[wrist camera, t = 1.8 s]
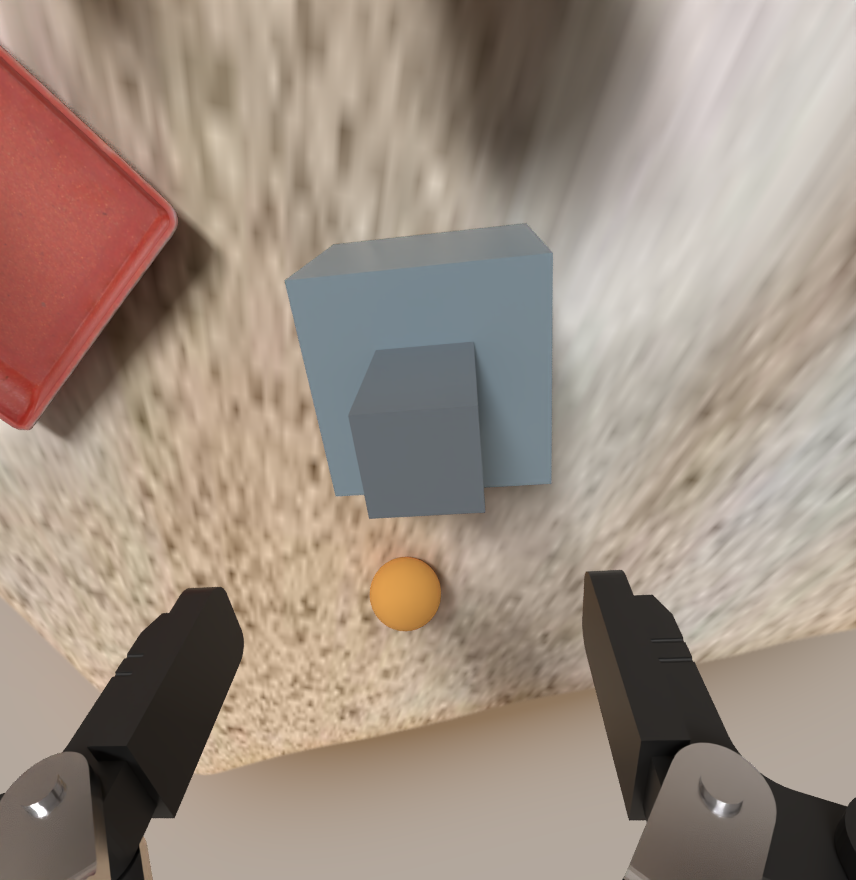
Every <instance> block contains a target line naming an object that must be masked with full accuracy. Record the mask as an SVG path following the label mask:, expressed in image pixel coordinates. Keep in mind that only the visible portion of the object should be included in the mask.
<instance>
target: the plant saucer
mask: <svg viewBox="0 0 856 880" xmlns="http://www.w3.org/2000/svg"><path fill="white" fill-rule="evenodd" d="M177 226H178V216H177V214H176V211H175V210H174V208H173V207H172V206H171V205H170V203H169V202H168V201H167V200H166V199H165V198H164V197H162V196H161V195H160V194H159V193H158V192H157V191H156V190H155V189H154V188H153V187H152V186H151V185H150V184H149V183H148V182H146V181H145V180H144V179H143V178H142V177H141V176H140V175H139V174H138V173H137V172H136V171H135V170H134V169H133V168H132V167H130V166H129V165H128V164H127V163H126V162H125V161H124V160H123V159H122V158H121V157H120V156H119V155H118V154H117V153H116V152H115V151H114V150H112V149H111V148H110V147H109V146H108V145H107V144H106V143H105V142H104V141H103V140H102V139H101V138H100V137H99V136H98V135H97V134H95V133H94V132H93V131H92V130H91V129H90V128H89V127H88V126H87V125H86V124H85V123H84V122H83V121H82V120H80V119H79V118H78V117H77V116H76V115H75V114H74V113H73V112H72V111H71V110H70V109H69V108H68V107H66V106H65V105H64V104H63V103H62V102H61V101H60V100H59V99H58V98H57V97H56V96H55V95H53V94H52V93H51V92H50V91H49V90H48V89H47V88H46V87H45V86H44V85H43V84H42V83H41V82H39V81H38V80H37V79H36V78H35V77H34V76H33V75H32V74H31V73H30V72H29V71H27V70H26V69H25V68H24V67H23V66H22V65H21V64H20V63H19V62H18V61H17V60H15V59H14V58H13V57H12V56H11V55H10V54H9V53H8V52H7V51H6V50H5V49H4V48H2V47H1V46H0V419H2V420H3V421H4V422H6V423H7V424H9V425H10V426H12V427H14V428H16V429H18V430H30V429H32V428H33V426H34V425H35V424H36V422H37V421H38V419H39V418H40V417H41V415H42V414H43V413H44V411H45V410H46V408H47V407H48V406H49V404H50V403H51V401H52V400H53V399H54V397H55V396H56V394H57V393H58V392H59V390H60V389H61V388H62V386H63V385H64V383H65V382H66V381H67V379H68V378H69V377H70V375H71V374H72V373H73V371H74V370H75V368H76V367H77V365H78V364H79V363H80V361H81V360H82V359H83V357H84V356H85V354H86V353H87V352H88V350H89V349H90V348H91V346H92V345H93V343H94V342H95V340H96V339H97V338H98V337H99V335H100V334H101V332H102V331H103V329H104V328H105V327H106V325H107V324H108V323H109V321H110V320H111V318H112V317H113V316H114V314H115V313H116V311H117V310H118V309H119V308H120V306H121V305H122V303H123V302H124V301H125V299H126V298H127V296H128V295H129V294H130V292H131V291H132V290H133V288H134V287H135V286H136V284H137V283H138V281H139V280H140V279H141V277H142V276H143V275H144V273H145V272H146V271H147V269H148V268H149V267H150V265H151V264H152V263H153V261H154V260H155V258H156V257H157V256H158V254H159V253H160V252H161V250H162V249H163V247H164V246H165V245H166V243H167V242H168V241H169V240H170V238H171V237H172V236H173V234H174V233H175V231H176V229H177Z"/></svg>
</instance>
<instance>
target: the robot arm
mask: <svg viewBox="0 0 856 880" xmlns="http://www.w3.org/2000/svg"><path fill="white" fill-rule="evenodd" d="M582 628H583V638H584V645H585V650H586V654H587V658H588V662H589V666H590V670H591V674H592V678H593V682H594V686H595V689H596V693H597V697H598V701H599V705H600V709H601V713H602V717H603V721H604V725H605V729H606V732H607V736H608V740H609V744H610V748H611V752H612V756H613V760H614V764H615V768H616V771H617V775H618V779H619V783H620V787H621V791H622V795H623V799H624V802H625V807H626V811H627V814H628V818H629V820H646V821H647V824H646V826H645V828H644V831H643V833H642V836H641V838H640V840H639V843H638V845H637V848H636V850H635V852H634V855H633V857H632V860H631V862H630V865H629V867H628V869H627V872H626V874H625V876H624V878H623V880H856V798H854V799H853V800H852V801H851V802H850V803H849V805H848V807H847V806H843V805H840V804H837V803H834V802H830V801H827V800H824V799H821V798H817V797H814V796H811V795H807V794H804V793H801V792H798V791H795V790H792V789H789V788H786V787H784V786H782V785H780V784H778V783H775V782H774V781H772V780H770V779H769V778H767V777H765V776H764V775H762V774H761V773H760V772H759V771H758V770H757V769H756V768H755V767H754V766H753V765H752V764H751V763H750V762H748V761H747V760H746V759H745V758H743V757H742V755H741V754H740V753H739V752H738V751H737V749H736V748H735V746H734V745H733V743H732V742H731V740H730V738H729V736H728V734H727V732H726V729H725V727H724V725H723V723H722V721H721V718H720V717H719V714H718V712H717V710H716V708H715V705H714V703H713V701H712V699H711V697H710V695H709V692H708V691H707V688H706V686H705V684H704V682H703V680H702V677H701V675H700V673H699V671H698V669H697V667H696V664H695V662H693V661H692V656H691V654H690V651H689V649H688V647H687V645H686V643H685V642H684V641H683V636H682V634H681V632H680V630H679V628H678V625H677V623H676V621H675V619H674V617H673V615H672V613H671V612H670V611H669V610H667V609H666V608H665V607H664V606H663V605H662V604H661V603H660V602H659V601H658V600H657V599H656V598H655V597H654V596H653V595H635V596H634V595H633V592H632V590H631V587H630V585H629V582H628V580H627V577H626V575H625V573H624V572H623V571H622V570H610V571H588V572H586V573H585V578H584V597H583V617H582ZM243 649H244V638H243V633H242V630H241V628H240V625H239V623H238V620H237V618H236V615H235V613H234V610H233V608H232V605H231V603H230V600H229V598H228V596H227V593H226V591H225V590H224V589H223V588H222V587H207V588H188V589H186V590H184V591H183V592H182V594H181V595H180V596H179V598H178V600H177V601H176V603H175V605H174V606H173V608H172V609H171V611H170V613H162V614H161V615H160V616H159V617H158V618H157V619H156V620H154V621H153V622H152V623H151V624H150V625H149V626H148V627H147V628H146V629H145V630H143V631H142V632H141V634H140V635H139V637H138V638H137V640H136V641H135V643H134V644H133V646H132V647H131V649H130V651H129V652H128V654H127V658H126V659H124V660H123V661H122V663H121V664H120V666H119V667H118V669H117V670H116V672H115V673H116V675H115V677H112V678H111V680H110V681H109V683H108V684H107V686H106V687H105V689H104V690H103V692H102V693H101V695H100V697H99V698H98V699H97V701H96V703H95V704H94V706H93V707H92V709H91V710H90V712H89V713H88V715H87V716H86V718H85V719H84V721H83V722H82V724H81V725H80V727H79V729H78V730H77V732H76V733H75V735H74V736H73V738H72V739H71V741H70V742H69V744H68V745H67V747H66V748H65V749H64V751H63V752H62V753H58V754H55V755H52V756H50V757H48V758H45V759H43V760H42V761H40V762H38V763H37V764H35V765H33V766H32V767H31V768H30V769H28V770H27V771H26V772H24V773H23V774H22V775H21V776H20V777H19V778H18V779H17V780H16V781H15V782H14V783H13V784H12V785H11V786H10V788H9V789H8V790H7V791H6V793H3V794H0V880H153V878H152V872H151V866H150V861H149V854H148V848H147V843H146V840H145V838H144V837H143V835H144V833H145V831H146V829H147V827H148V824H149V822H150V820H151V818H175V816H176V813H177V811H178V808H179V806H180V804H181V801H182V799H183V797H184V794H185V792H186V790H187V787H188V785H189V782H190V780H191V778H192V775H193V773H194V771H195V768H196V766H197V764H198V761H199V759H200V757H201V754H202V752H203V749H204V747H205V745H206V742H207V740H208V738H209V735H210V733H211V731H212V728H213V726H214V723H215V721H216V719H217V716H218V714H219V712H220V709H221V707H222V705H223V702H224V700H225V697H226V695H227V693H228V690H229V688H230V686H231V683H232V681H233V678H234V676H235V674H236V671H237V669H238V667H239V664H240V662H241V659H242V655H243Z"/></svg>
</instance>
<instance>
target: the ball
mask: <svg viewBox="0 0 856 880" xmlns="http://www.w3.org/2000/svg"><path fill="white" fill-rule="evenodd" d="M440 599H441V588H440V583H439V580H438V578H437V576H436V574H435V572H434V571H433V570H432V569H431V567H429V566H428V565H427V564H426V563H424V562H423V561H421V560H419V559H416V558H411V557H400V558H396V559H393V560H391V561H389V562H387V563H386V564H384V565H383V566H382V567H381V568H380V569H379V570H378V572H377V573H376V574H375V576H374V578H373V581H372V584H371V588H370V602H371V606H372V609H373V611H374V613H375V615H376V616H377V617H378V619H379V620H380V621H381V622H382V623H384V624H385V625H386V626H388V627H390V628H392V629H395V630H398V631H412V630H416V629H418V628H420V627H422V626H424V625H425V624H427V623H428V622H429V621H430V620H431V619H432V618H433V616H434V615H435V613H436V612H437V610H438V607H439V604H440Z"/></svg>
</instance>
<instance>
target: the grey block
mask: <svg viewBox="0 0 856 880" xmlns="http://www.w3.org/2000/svg"><path fill="white" fill-rule="evenodd" d="M552 275H553V253H552V252H551V250H550V249H549V248H548V247H547V246H546V245H545V244H544V243H543V241H542V240H541V239H540V238H539V237H538V236H537V235H536V234H535V232H534V231H533V230H532V229H531V228H530V227H529V226H528V225H527V223H525V224H516V225H506V226H497V227H488V228H479V229H470V230H461V231H452V232H443V233H434V234H424V235H415V236H406V237H397V238H388V239H379V240H370V241H361V242H352V243H342V244H333V245H332V246H331V247H329V248H328V249H327V250H325V251H324V252H323V253H321V254H320V255H318V256H317V257H316V258H314V259H313V260H312V261H310V262H309V263H308V264H306V265H305V266H304V267H302V268H301V269H300V270H298V271H297V272H295V273H294V274H293V275H291V276H290V277H289V278H287V279H286V280H285V285H286V289H287V293H288V297H289V301H290V306H291V310H292V314H293V318H294V322H295V327H296V331H297V335H298V339H299V343H300V348H301V352H302V356H303V360H304V364H305V369H306V373H307V377H308V381H309V386H310V390H311V394H312V398H313V402H314V407H315V411H316V415H317V419H318V423H319V428H320V432H321V436H322V440H323V444H324V449H325V453H326V457H327V461H328V465H329V470H330V474H331V478H332V482H333V487H334V491H335V495H336V496H350V495H364V496H365V501H366V505H367V510H368V515H369V519H374V518H392V517H411V516H429V515H448V514H466V513H485V499H484V488H486V487H503V486H520V485H537V484H551V454H552Z"/></svg>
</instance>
